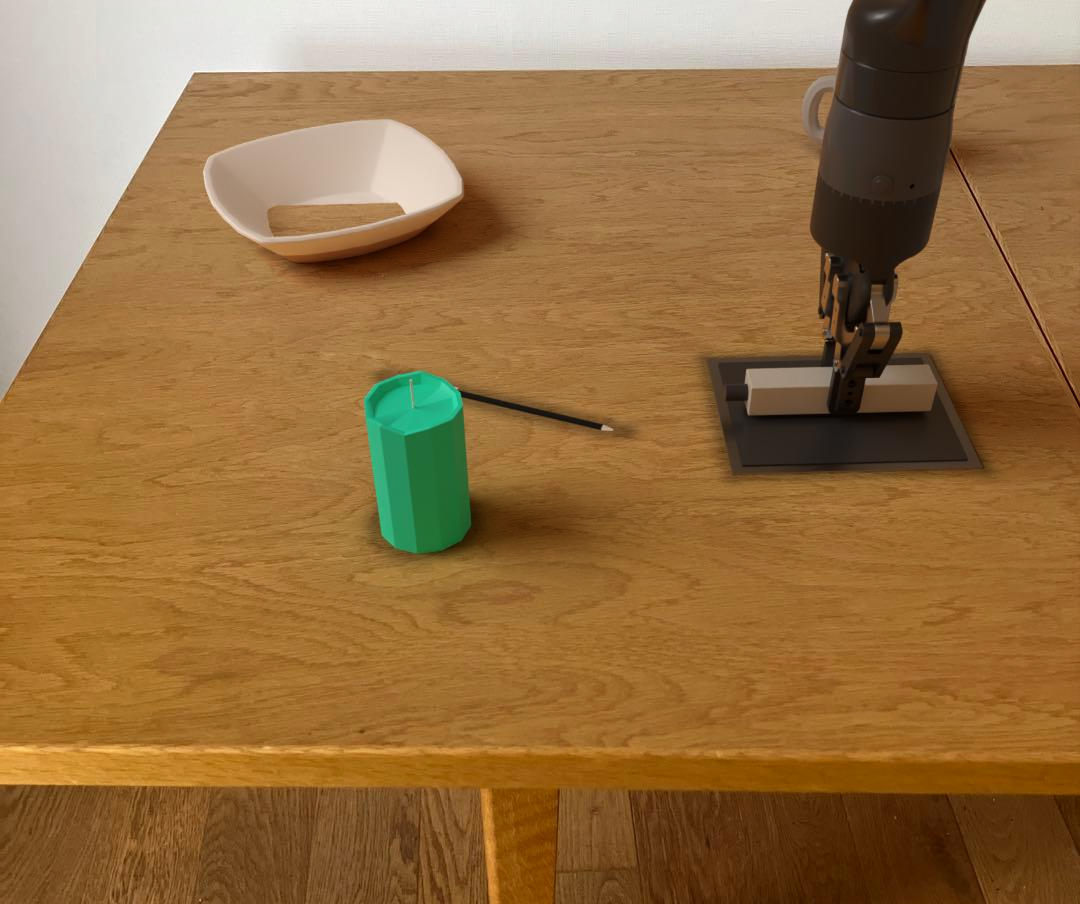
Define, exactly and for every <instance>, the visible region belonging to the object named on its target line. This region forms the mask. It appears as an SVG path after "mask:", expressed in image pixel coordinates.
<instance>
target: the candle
mask: <svg viewBox="0 0 1080 904" xmlns="http://www.w3.org/2000/svg"><path fill="white" fill-rule="evenodd" d="M455 387H456V386H454V385H453V384H451V382H449V381H448V380H447V379H446V378H444V377H442V376H441V377H440V376H437V375H435V374H432V373H430V372H427V371H424V370H417V371H412V372H408V373H402V374H396V375H393V376H391V377H389V378H386V379H384V380H381V381H379V382H377V383H375V384H374V385H373V386H372V387H371V389H370V390H369V391H368V393H367V394H366V395H365V397H364V398H363V406H364V417H365V424H366V432H367V438H368V446H369V447H368V448H369V452H370V461H371V469H372V475H373V483H374V489H375V499H376V503H377V510H378V519H379V526H380V533H381V536H382V538H384V539H385V540H386V541H387V542H388V543H389V544H390V545H391V546H393V547H394V549H396V550H401V551H404V552H405V551H406V552H409V553H413V554H417V555H418V554H419V555H420V554H426V553H435V552H442V551H444V550H446V549H448V548H450V547H452V546H453V545H455V544H458V543H460V542H461V541H463V539H464V537H465V536H466V534H467V532H468V531H469V530H470V528H471V526H472V514H471V513H472V512H471V503H470V502H471V500H470V485H469V471H468V459H467V456H468V455H467V444H466V429H465V415H464V404H463V399H462V397H461V394H460V392H459V391H458V390H459V389H458V390H457V389H456V388H455Z"/></svg>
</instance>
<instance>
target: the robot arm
mask: <svg viewBox="0 0 1080 904" xmlns="http://www.w3.org/2000/svg"><path fill="white" fill-rule="evenodd" d="M986 3H987V0H852V1H851V3H850V5H849V8H848V10H847V14H846V17H845V21H844V26H843V33H842V40H841V44H840V45H841V47H840V51H839V58H838V64H837V66H838V71H837V70H836V72H837V77H836V84H835V91H834V96H833V95H832V98H833V100H832V99H831V104H830V108H829V110H828V114H827V117H826V120H825V121H826V122H825V126H824V128H825V129H824V135H823V142H822V144H821V150H820V157H819V162H818V169H817V174H816V175H817V176H816V181H815V188H814V194H813V202H812V208H811V214H810V221H809V232H810V235H811V237H812V239H813V241H814V242H815V243H816V244H817V245H818V246H819V247H820V268H819V269H820V270H819V291H818V292H819V293H818V294H819V295H818V296H819V297H818V308H817V314H818V318H819V320H823V324H822V328H821V330H820V331H821V336H822V339H823V341H824V345H823V350H822V354H821V355H822V361H821V367H833V370H832V376H831V381H830V389H829V394H828V400H827V408H828V411H829V413H831V414H834V415H835V414H855V413H857V412H858V411H859V409H860V405H861V400H862V395H863V391H864V386H865V381H866V378H880V376H881V375H882V373H883V371H884V369H885V367H886V365H887V364H888V362H889V360H890V358H891V356H892V354H895V351H896V349H897V347H898V345H899V343H900V342H901V340H902V337H903V333H904V329H903V326H902V323H901V321H889V319H890V314H891V313H890V312H891V307H892V304H893V303H894V302H895V300H896V299H897V293H898V288H899V275H898V273H897V272H896V268H897V267H898V266H900V265H901V264H902V263H903V262H905V261H907V260H910V259H911V258H913V257H915V256H917V255H919V254H920V253H921V252H922V251H923V250H924V249H925V248H926V247H927V245H928V243H929V241H930V238H931V234H932V231H933V230H932V229H933V225H934V220H935V216H936V211H937V208H938V203H939V198H940V195H941V191H942V185H943V181H944V176H945V172H946V167H947V163H948V158H949V153H950V150H951V144H952V140H953V139H952V137H953V128H954V127H953V126H954V115H955V109H956V102H957V97H958V92H959V89H960V84H961V79H962V75H963V70H964V66H965V62H966V57H967V55H968V49H969V44H970V39H971V37H972V34H973V32H974V29H975V26H976V24H977V22H978V19H979V17H980V15H981V13H982V11H983V8H984V6H985V5H986Z"/></svg>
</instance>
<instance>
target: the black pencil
mask: <svg viewBox="0 0 1080 904" xmlns="http://www.w3.org/2000/svg"><path fill="white" fill-rule="evenodd" d="M454 387H455V388H456V389H457V390H458V391H459V392H460V394H461V398H463V399H468V400H472V401H475V402H478V403H479V402H480V403H483V404H489V405H493V406H497V407H501V408H505V409H509V410H513V411H517V412H521V413H522V412H523V413H526V414H530V415H534V416H540V417H543V418H547V419H552V420H556V421H560V422H564V423H569V424H571V425H576V426H582V427H585V428H590V429H594V430H599V431H606V432H607V431H608V432H611V431H612V432H613V431H614V428H612V427H610V426H608V425H606V424H603V423H599V422H595V421H592V420H588V419H587V420H586V419H582V418H578V417H574V416H570V415H565V414H562V413H558V412H553V411H548V410H545V409H539V408H535V407H531V406H527V405H523V404H520V403H519V404H518V403H515V402H510V401H506V400H502V399H497V398H494V397H490V396H485V395H481V394H476V393H472V392H468V391H463V390H459V389H460V388H459V387H456V386H454Z"/></svg>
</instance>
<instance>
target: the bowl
mask: <svg viewBox="0 0 1080 904" xmlns="http://www.w3.org/2000/svg"><path fill="white" fill-rule="evenodd" d="M459 171H460V170H459V169H458V167H457V166H456V164H455V163H454V161H453V160H452V158H450V156H449V155H448V154H447V152H446V151H445V150H444V149H442V147H440V146H439V145H438V144H436V143H435V142H434V141H433V140H431V139H430V138H428V137H427V136H426V135H424V134H423V133H422V132H419V131H418V130H417V129H415V128H414V127H412V126H409V125H407V124H404V123H402V122H400V121H397V120H395V119H391V118H385V119H384V118H383V119H360V120H351V121H343V122H336V123H329V124H324V125H323V124H322V125H316V126H312V127H305V128H300V129H299V128H298V129H294V130H290V131H286V132H280V133H277V134H273V135H268V136H263V137H260V138H257V139H253V140H250V141H246V142H243V143H239V144H235V145H233V146H230V147H228V148H225V149H222V150H221V151H218V152H215V153H213V154H211V155H209V156H208V158H207V159H206V161H205V165H204V167H203V172H202V175H203V180H204V182H203V183H204V187H205V191H206V193H207V196H208V198H209V201H210V204H211V205H212V207H213V208H214V209H215V211H216V212H217V213H218V214H219V216H220V217H221V218H222V219H223V220H224V221H225V222H226V223H227V224H228V225H229V226H230V227H231V228H233V229H234V230H235V231H236V232H237V233H238V234H239V235H242V236H243V237H244V238H247V239H248V240H251V241H252V242H254V243H256V244H258V245H259V246H261V247H263V248H265V249H267V250H269V251H271V252H273V253H274V254H277V255H279V256H280V257H282V258H284V259H286V260H288V261H290V262H293V263H297V264H308V263H309V264H310V263H320V262H327V261H335V260H343V259H347V258H353V257H357V256H363V255H366V254H370V253H374V252H377V251H380V250H385V249H387V248H390V247H393V246H396V245H399V244H401V243H404V242H407V241H409V240H411V239H413V238H415V237H417V236H418V235H420V234H421V233H422V232H423V231H424V230H426V229H427V228H428V227H429V226H431V225H432V224H433V223H434V222H436V221H437V220H438V219H440V218H441V217H443V215H444V214H446V213H447V212H448V211H450V210H451V209H452V208H453V207H454V206H456V205H457V204H458V203H459V202H460V201H461V200H463V199H464V197H465V192H464V191H465V189H464V188H465V186H464V184H465V183H464V178H463V177H462V175H461V173H460V172H459ZM361 204H363V205H365V204H398V205H399V206H400V207H401V209H402V210H403V212H404V213H405V214H402V215H398V216H394V217H391V218H387V219H384V220H379V221H375V222H371V223H367V224H361V225H357V226H352V227H347V228H341V229H336V230H331V231H323V232H316V233H309V234H302V235H285V236H282V235H281V236H274V234H273V232H272V229H271V227H270V222H269V217H268V213H269V211H270V209H272V208H274V207H279V206H280V207H281V206H282V207H283V206H316V205H317V206H319V205H320V206H321V205H323V206H324V205H325V206H326V205H361Z"/></svg>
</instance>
